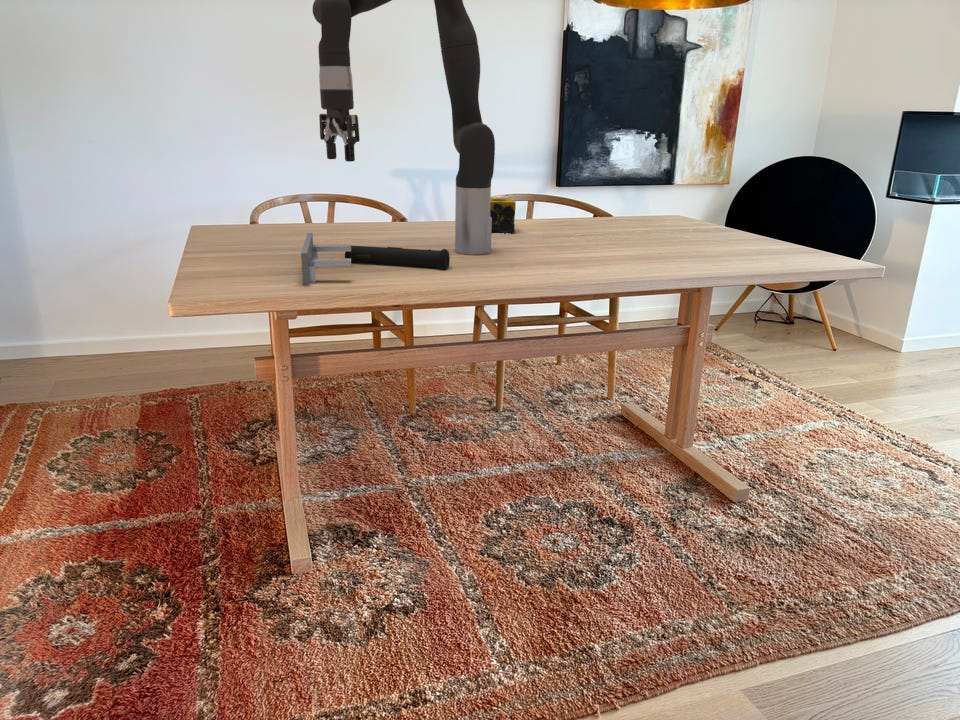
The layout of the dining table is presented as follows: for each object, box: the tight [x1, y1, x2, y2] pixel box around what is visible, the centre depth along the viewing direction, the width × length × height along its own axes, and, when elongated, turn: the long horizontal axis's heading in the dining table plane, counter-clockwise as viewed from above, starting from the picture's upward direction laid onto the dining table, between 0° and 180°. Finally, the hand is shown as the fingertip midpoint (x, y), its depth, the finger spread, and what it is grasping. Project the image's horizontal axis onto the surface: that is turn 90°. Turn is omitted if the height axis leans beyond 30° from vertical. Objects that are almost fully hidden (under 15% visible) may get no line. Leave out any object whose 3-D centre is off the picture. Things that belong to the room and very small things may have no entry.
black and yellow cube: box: [490, 196, 517, 235], centre depth 227 cm, size 10×10×10 cm
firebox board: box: [300, 232, 314, 287], centre depth 165 cm, size 1×24×8 cm, turn 10°
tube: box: [344, 244, 451, 271], centre depth 177 cm, size 25×6×6 cm, turn 80°
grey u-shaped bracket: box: [308, 243, 352, 284], centre depth 166 cm, size 9×18×6 cm, turn 10°
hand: (340, 160), depth 174 cm, fingers open, 8 cm apart
